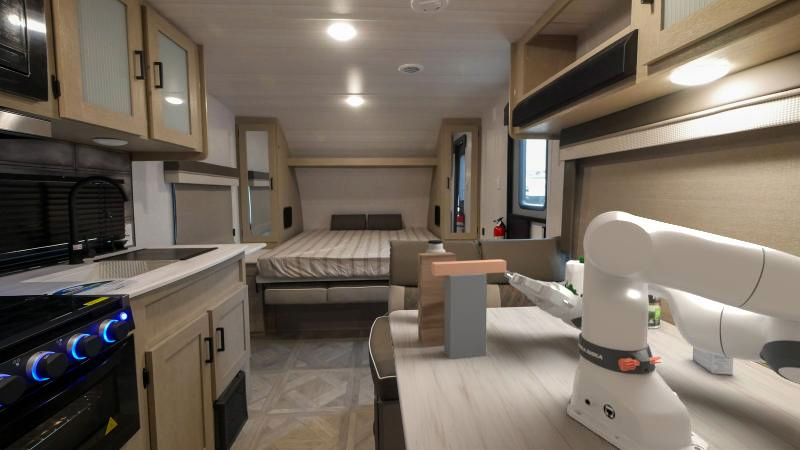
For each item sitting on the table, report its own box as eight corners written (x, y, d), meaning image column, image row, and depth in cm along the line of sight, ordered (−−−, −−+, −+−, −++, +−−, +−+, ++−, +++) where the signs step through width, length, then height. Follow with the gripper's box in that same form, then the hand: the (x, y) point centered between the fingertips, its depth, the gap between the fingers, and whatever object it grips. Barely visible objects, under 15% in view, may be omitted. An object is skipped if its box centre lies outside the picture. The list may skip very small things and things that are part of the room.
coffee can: (664, 323, 120) (665, 281, 119) (655, 331, 113) (656, 286, 112) (628, 316, 128) (630, 277, 127) (618, 323, 121) (619, 281, 120)
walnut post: (456, 344, 105) (456, 254, 103) (422, 347, 102) (422, 256, 101) (450, 337, 109) (450, 252, 108) (418, 340, 107) (417, 253, 106)
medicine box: (733, 375, 85) (735, 339, 84) (711, 374, 86) (713, 338, 85) (711, 361, 93) (713, 327, 92) (691, 359, 94) (693, 326, 93)
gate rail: (506, 272, 97) (506, 261, 97) (434, 275, 93) (434, 264, 93) (500, 270, 100) (501, 259, 100) (431, 273, 96) (431, 262, 96)
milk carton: (589, 314, 130) (590, 259, 128) (562, 310, 135) (563, 257, 134) (593, 308, 137) (594, 256, 136) (567, 304, 142) (568, 254, 141)
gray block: (486, 355, 97) (486, 274, 95) (450, 359, 95) (450, 276, 93) (478, 348, 102) (478, 270, 100) (444, 351, 100) (444, 272, 98)
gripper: (572, 320, 93) (530, 296, 90) (528, 298, 113) (492, 278, 110) (583, 298, 93) (542, 273, 90) (537, 280, 113) (502, 260, 110)
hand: (514, 276), depth 100 cm, fingers open, 8 cm apart
